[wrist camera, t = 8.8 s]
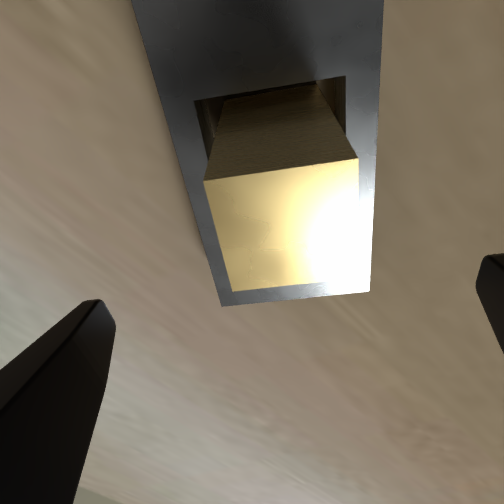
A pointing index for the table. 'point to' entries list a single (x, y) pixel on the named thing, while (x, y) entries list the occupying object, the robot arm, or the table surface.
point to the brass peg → (283, 190)
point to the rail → (262, 77)
